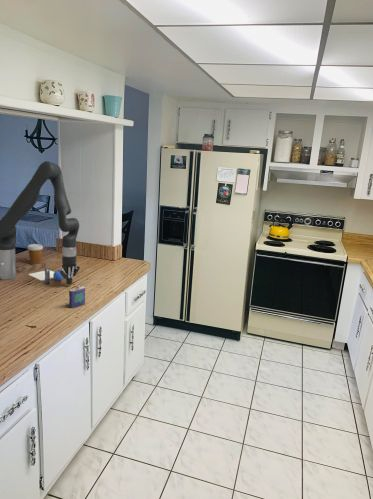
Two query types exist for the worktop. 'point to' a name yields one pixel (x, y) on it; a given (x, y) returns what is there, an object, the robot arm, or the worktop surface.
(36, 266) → the stopper wall
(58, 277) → the ball
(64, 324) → the worktop surface
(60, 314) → the worktop surface
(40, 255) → the disposable coffee cup
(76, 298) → the flask
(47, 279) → the left post
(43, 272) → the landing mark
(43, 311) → the worktop surface
